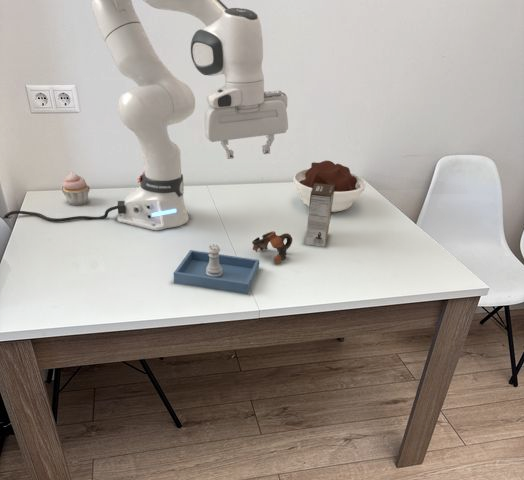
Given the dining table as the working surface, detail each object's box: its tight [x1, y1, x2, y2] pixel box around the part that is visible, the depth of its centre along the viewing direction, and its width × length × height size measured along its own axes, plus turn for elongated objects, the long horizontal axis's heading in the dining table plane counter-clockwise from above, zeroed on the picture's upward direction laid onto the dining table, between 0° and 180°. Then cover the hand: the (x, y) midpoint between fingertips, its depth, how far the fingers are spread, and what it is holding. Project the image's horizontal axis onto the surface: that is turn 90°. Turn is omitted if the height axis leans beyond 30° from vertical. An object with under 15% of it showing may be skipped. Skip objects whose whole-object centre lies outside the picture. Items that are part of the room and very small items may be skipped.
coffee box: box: [304, 183, 335, 248], centre depth 147 cm, size 9×6×16 cm
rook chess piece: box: [206, 243, 223, 277], centre depth 128 cm, size 4×4×8 cm
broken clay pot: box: [251, 231, 293, 265], centre depth 140 cm, size 12×10×8 cm
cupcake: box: [60, 171, 91, 206], centre depth 162 cm, size 9×9×10 cm
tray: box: [173, 249, 260, 295], centre depth 129 cm, size 20×14×3 cm
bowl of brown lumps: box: [292, 160, 366, 213], centre depth 170 cm, size 25×25×15 cm
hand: (248, 155), depth 121 cm, fingers open, 8 cm apart
